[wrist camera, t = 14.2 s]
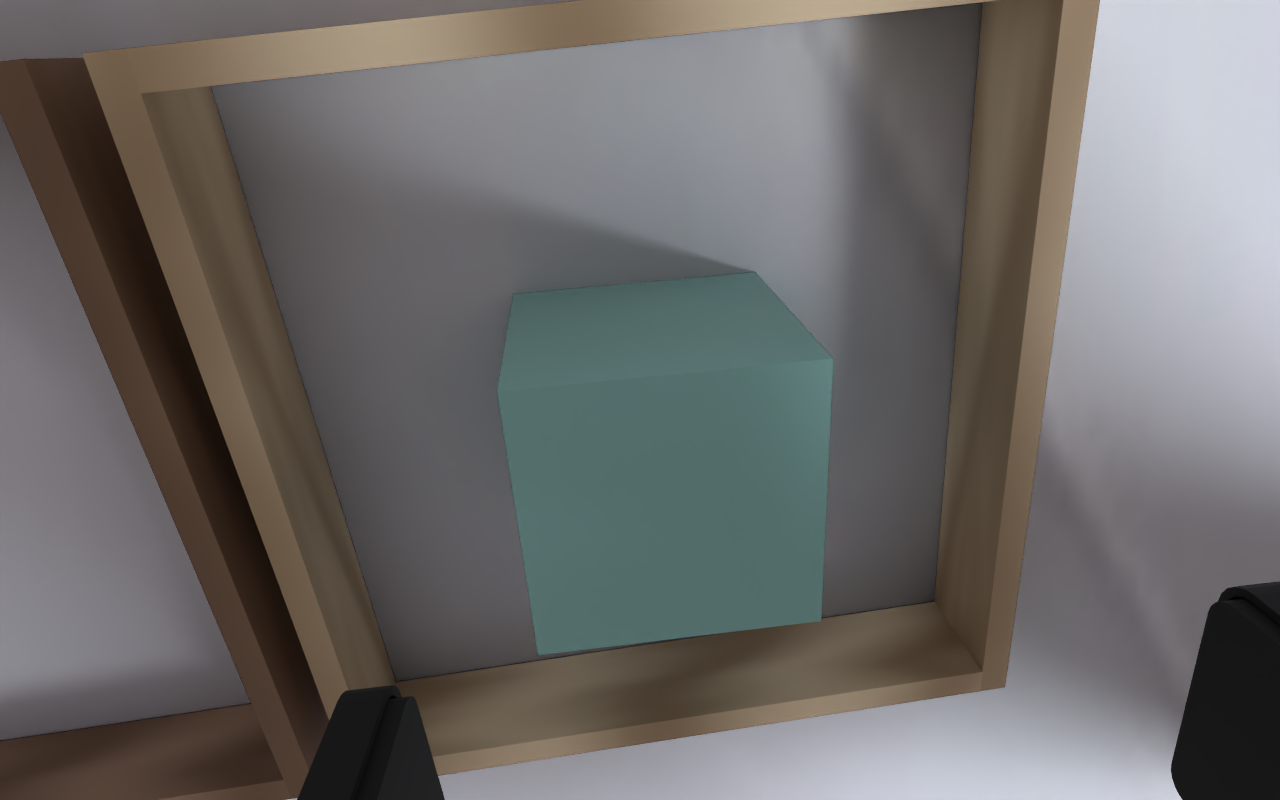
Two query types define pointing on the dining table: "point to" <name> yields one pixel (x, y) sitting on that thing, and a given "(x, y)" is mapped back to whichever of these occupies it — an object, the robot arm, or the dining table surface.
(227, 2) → the dining table surface
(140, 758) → the walnut tray
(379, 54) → the oak tray
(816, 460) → the teal cube
